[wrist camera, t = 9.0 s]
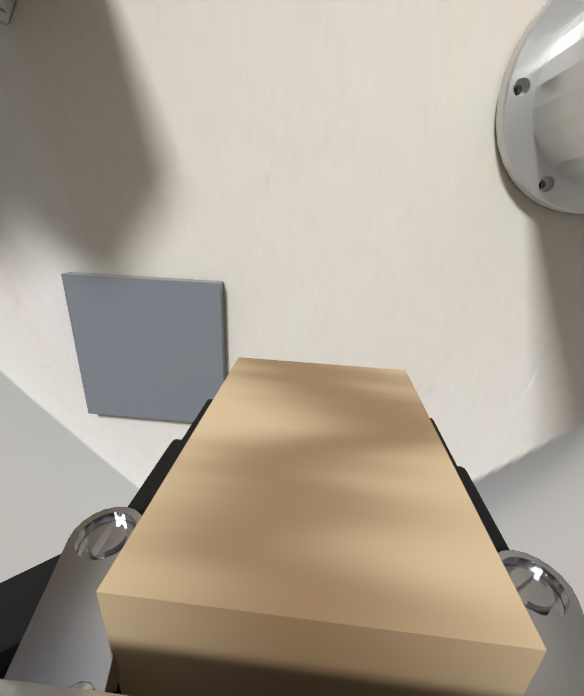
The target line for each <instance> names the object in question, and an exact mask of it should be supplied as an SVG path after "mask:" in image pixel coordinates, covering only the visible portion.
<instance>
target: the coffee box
mask: <svg viewBox="0 0 584 696" xmlns="http://www.w3.org/2000/svg"><path fill="white" fill-rule="evenodd" d="M14 3H15V0H0V22H1V23H3V24H8V23H9V19H10V16H11V13H12V10H13V7H14Z"/></svg>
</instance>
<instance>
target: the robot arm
mask: <svg viewBox="0 0 584 696" xmlns="http://www.w3.org/2000/svg"><path fill="white" fill-rule="evenodd" d="M513 88H516V89H517V95H515V93H514V92H513ZM496 132H497V144H498V148H499V151H500V155H501V158H502V162H503V165H504V166H505V168H506V170H507V172H508V174H509V176H510V178H511V179H512V181H513V182H514V183H515V184H516V186H517V187H518V188H519V189H520V190H521V191H522V192H523V193H524V194H525V195H526V196H527V197H529V198H530V199H532V200H533V201H535V202H536V203H538V204H539V205H542V206H544V207H547V208H549V209H552V210H555V211H559V212H565V213H572V214H584V0H549V1H548V2H547V4H546V5H545V6H544V7H543V8H542V10H541V11H540V12H539V13H538V15H537V16H536V17H535V18H534V19H533V21H532V22H531V23H530V25H529V26H528V28H527V30H526V31H525V33H524V35H523V36H522V38H521V39H520V41H519V43H518V44H517V46H516V48H515V50H514V52H513V55H512V57H511V59H510V62H509V64H508V66H507V69H506V71H505V73H504V77H503V81H502V85H501V89H500V92H499V96H498V103H497V114H496ZM540 182H541V183H542V184H541V188H540V189H539V183H540ZM212 401H213V399H208V400H207V401H206V403H205V404H204V406H203V408H202V409H201V411H200V412H199V414H198V415H197V417H196V419H195V420H194V422H193V423H192V425H191V426H190V428H189V430H188V431H187V433H186V434H185V436H184V437H183V439H182V440H179V439H175V440H173V441H172V443H171V444H170V445H169V447H168V448H167V450H166V451H165V453H164V454H163V455H162V457H161V458H160V460H159V461H158V463H157V464H156V466H155V467H154V469H153V470H152V472H151V473H150V475H149V476H148V478H147V479H146V481H145V482H144V484H143V485H142V487H141V488H140V490H139V491H138V492H137V494H136V496H135V497H134V498H133V500H132V501H131V503H130V504H129V506H128V507H114V508H109V509H105V510H102V511H100V512H98V513H95V514H93V515H92V516H90V517H89V518H87V519H86V520H84V521H83V522H82V523H81V524H80V525H79V526H78V527H77V528H76V529H74V531H73V533H72V534H71V536H70V537H69V539H68V541H67V543H66V545H65V548H64V550H63V552H62V554H60V555H58V556H56V557H53V558H51V559H49V560H47V561H45V562H43V563H41V564H39V565H37V566H35V567H33V568H31V569H29V570H27V571H24V572H23V573H20V574H18V575H16V576H14V577H12V578H10V579H8V580H6V581H4V582H2V583H0V696H128V695H122V693H121V689H120V685H119V681H118V680H119V675H120V672H119V668H118V664H117V660H116V656H115V652H114V651H112V650H111V649H110V645H109V641H108V637H107V633H106V629H105V625H104V621H103V617H102V613H101V609H100V605H99V601H98V597H97V593H96V591H97V589H98V588H99V586H100V584H101V583H102V581H103V580H104V578H105V576H106V575H107V573H108V571H109V570H110V568H111V566H112V565H113V563H114V561H115V560H116V558H117V557H118V555H119V553H120V552H121V550H122V548H123V547H124V545H125V543H126V542H127V540H128V539H129V537H130V535H131V534H132V532H133V530H134V529H135V527H136V525H137V524H138V522H139V520H140V519H141V517H142V516H143V514H144V512H145V511H146V509H147V507H148V506H149V504H150V502H151V501H152V499H153V497H154V496H155V494H156V493H157V491H158V489H159V488H160V486H161V484H162V483H163V481H164V479H165V478H166V476H167V474H168V473H169V471H170V470H171V468H172V466H173V465H174V463H175V461H176V460H177V458H178V456H179V455H180V453H181V452H182V450H183V448H184V447H185V445H186V443H187V442H188V440H189V438H190V437H191V435H192V433H193V432H194V430H195V429H196V427H197V425H198V424H199V422H200V420H201V419H202V417H203V415H204V414H205V412H206V410H207V409H208V407H209V406H210V404H211V402H212ZM430 420H431V422H432V424H433V426H434V428H435V430H436V432H437V434H438V436H439V438H440V440H441V442H442V444H443V446H444V448H445V450H446V452H447V454H448V456H449V458H450V460H451V462H452V464H453V466H454V468H455V470H456V472H457V474H458V476H459V477H460V479H461V481H462V483H463V485H464V487H465V489H466V491H467V493H468V495H469V497H470V499H471V501H472V503H473V505H474V507H475V509H476V511H477V513H478V515H479V517H480V519H481V521H482V523H483V525H484V527H485V529H486V531H487V533H488V535H489V537H490V539H491V541H492V543H493V545H494V547H495V549H496V551H497V553H498V555H499V557H500V559H501V561H502V563H503V565H504V566H505V568H506V570H507V572H508V574H509V576H510V578H511V580H512V582H513V584H514V586H515V588H516V590H517V592H518V594H519V596H520V598H521V600H522V602H523V604H524V606H525V608H526V610H527V612H528V614H529V616H530V618H531V620H532V622H533V624H534V626H535V628H536V630H537V632H538V634H539V636H540V638H541V640H542V642H543V644H544V646H545V648H546V650H547V651H546V653H545V655H544V657H543V659H542V661H541V663H540V665H539V667H538V669H537V671H536V672H535V674H534V676H533V678H532V680H531V682H530V684H529V686H528V688H527V690H526V691H525V693H524V695H523V696H584V614H583V612H582V609H581V606H580V604H579V601H578V599H577V597H576V595H575V593H574V591H573V589H572V588H571V587H570V585H569V584H568V583H567V582H566V581H565V579H564V578H563V577H562V576H561V575H560V574H559V573H558V572H556V571H555V570H554V569H553V568H552V567H551V566H549V565H548V564H546V563H544V562H543V561H541V560H540V559H538V558H536V557H534V556H531V555H529V554H527V553H524V552H520V551H515V550H509V548H508V546H507V544H506V543H505V541H504V539H503V537H502V535H501V534H500V531H499V530H498V528H497V526H496V524H495V522H494V521H493V519H492V517H491V515H490V513H489V511H488V509H487V508H486V506H485V504H484V502H483V501H482V498H481V497H480V495H479V493H478V491H477V489H476V487H475V486H474V484H473V482H472V480H471V478H470V476H469V475H468V473H467V471H466V470H465V469H464V468H463V467H460V466H457V465H456V463H455V461H454V459H453V457H452V455H451V453H450V451H449V449H448V448H447V446H446V444H445V442H444V440H443V438H442V436H441V434H440V432H439V430H438V428H437V426H436V424H435V422H434V421H433V419H432V418H430Z"/></svg>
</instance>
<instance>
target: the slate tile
mask: <svg viewBox="0 0 584 696" xmlns="http://www.w3.org/2000/svg"><path fill="white" fill-rule="evenodd" d="M61 275H62V280H63V285H64V290H65V296H66V301H67V306H68V311H69V316H70V321H71V326H72V331H73V336H74V341H75V347H76V352H77V357H78V362H79V367H80V372H81V377H82V382H83V387H84V392H85V398H86V403H87V408H88V413H91V414H103V415H114V416H126V417H138V418H149V419H161V420H173V421H184V422H194V420H195V419H196V417H197V415H198V414H199V412H200V411H201V409H202V408H203V406H204V404H205V403H206V401H207V400H208V399H214V397H215V396H216V394H217V392H218V391H219V389H220V387H221V386H222V384H223V383H224V381H225V379H226V370H225V334H224V298H223V282H222V281H206V280H189V279H172V278H156V277H139V276H123V275H106V274H90V273H73V272H67V273H63V274H61Z"/></svg>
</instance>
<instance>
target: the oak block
mask: <svg viewBox="0 0 584 696" xmlns="http://www.w3.org/2000/svg"><path fill="white" fill-rule="evenodd" d="M96 593H97V597H98V601H99V605H100V609H101V613H102V617H103V621H104V625H105V629H106V633H107V637H108V641H109V645H110V649H111V650H112V651H114V652H115V656H116V660H117V664H118V668H119V672H120V675H119V680H118V681H119V685H120V689H121V693H122V695H128V696H523V695H524V693H525V691H526V690H527V688H528V686H529V684H530V682H531V680H532V678H533V676H534V674H535V672H536V671H537V669H538V667H539V665H540V663H541V661H542V659H543V657H544V655H545V653H546V651H547V650H546V648H545V646H544V644H543V642H542V640H541V638H540V636H539V634H538V632H537V630H536V628H535V626H534V624H533V622H532V620H531V618H530V616H529V614H528V612H527V610H526V608H525V606H524V604H523V602H522V600H521V598H520V596H519V594H518V592H517V590H516V588H515V586H514V584H513V582H512V580H511V578H510V576H509V574H508V572H507V570H506V568H505V566H504V565H503V563H502V561H501V559H500V557H499V555H498V553H497V551H496V549H495V547H494V545H493V543H492V541H491V539H490V537H489V535H488V533H487V531H486V529H485V527H484V525H483V523H482V521H481V519H480V517H479V515H478V513H477V511H476V509H475V507H474V505H473V503H472V501H471V499H470V497H469V495H468V493H467V491H466V489H465V487H464V485H463V483H462V481H461V479H460V477H459V476H458V474H457V472H456V470H455V468H454V466H453V464H452V462H451V460H450V458H449V456H448V454H447V452H446V450H445V448H444V446H443V444H442V442H441V440H440V438H439V436H438V434H437V432H436V430H435V428H434V426H433V424H432V422H431V420H430V418H429V416H428V414H427V412H426V410H425V408H424V406H423V404H422V402H421V400H420V398H419V396H418V394H417V392H416V390H415V389H414V387H413V385H412V383H411V381H410V379H409V377H408V375H407V373H406V371H405V370H394V369H381V368H368V367H355V366H342V365H329V364H316V363H304V362H291V361H278V360H265V359H252V358H238V360H237V361H236V363H235V365H234V366H233V368H232V369H231V371H230V373H229V374H228V376H227V378H226V379H225V381H224V383H223V384H222V386H221V387H220V389H219V391H218V392H217V394H216V396H215V397H214V399H213V401H212V402H211V404H210V406H209V407H208V409H207V410H206V412H205V414H204V415H203V417H202V419H201V420H200V422H199V424H198V425H197V427H196V429H195V430H194V432H193V433H192V435H191V437H190V438H189V440H188V442H187V443H186V445H185V447H184V448H183V450H182V452H181V453H180V455H179V456H178V458H177V460H176V461H175V463H174V465H173V466H172V468H171V470H170V471H169V473H168V474H167V476H166V478H165V479H164V481H163V483H162V484H161V486H160V488H159V489H158V491H157V493H156V494H155V496H154V497H153V499H152V501H151V502H150V504H149V506H148V507H147V509H146V511H145V512H144V514H143V516H142V517H141V519H140V520H139V522H138V524H137V525H136V527H135V529H134V530H133V532H132V534H131V535H130V537H129V539H128V540H127V542H126V543H125V545H124V547H123V548H122V550H121V552H120V553H119V555H118V557H117V558H116V560H115V561H114V563H113V565H112V566H111V568H110V570H109V571H108V573H107V575H106V576H105V578H104V580H103V581H102V583H101V584H100V586H99V588H98V589H97V591H96Z"/></svg>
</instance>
